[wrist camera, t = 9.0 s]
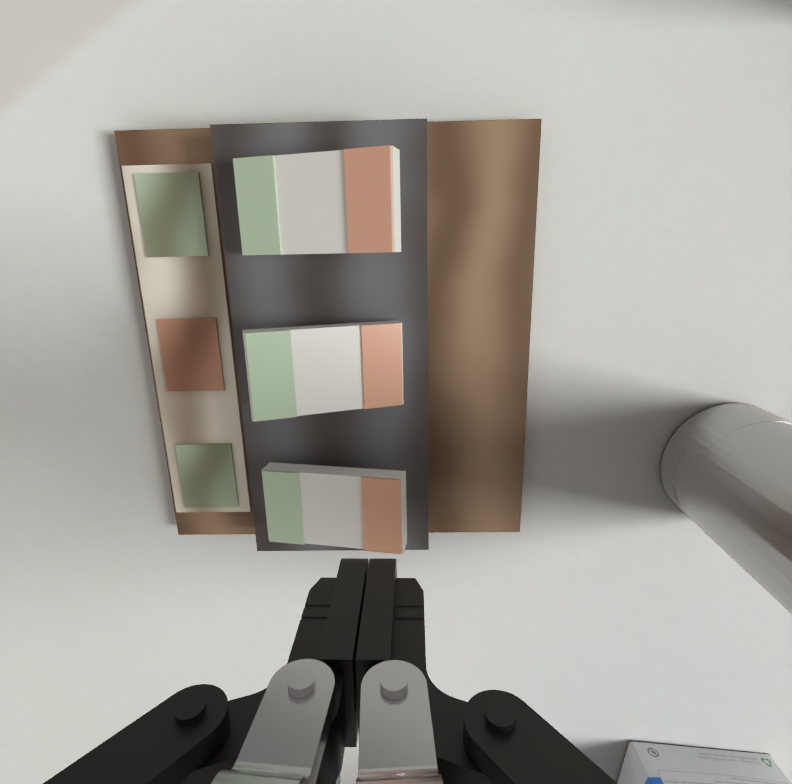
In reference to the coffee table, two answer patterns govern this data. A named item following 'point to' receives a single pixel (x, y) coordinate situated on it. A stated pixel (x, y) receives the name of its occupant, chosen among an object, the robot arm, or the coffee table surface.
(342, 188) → the switch
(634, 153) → the coffee table surface
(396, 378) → the switch
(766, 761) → the string lights box
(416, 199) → the switch unit
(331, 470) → the switch
